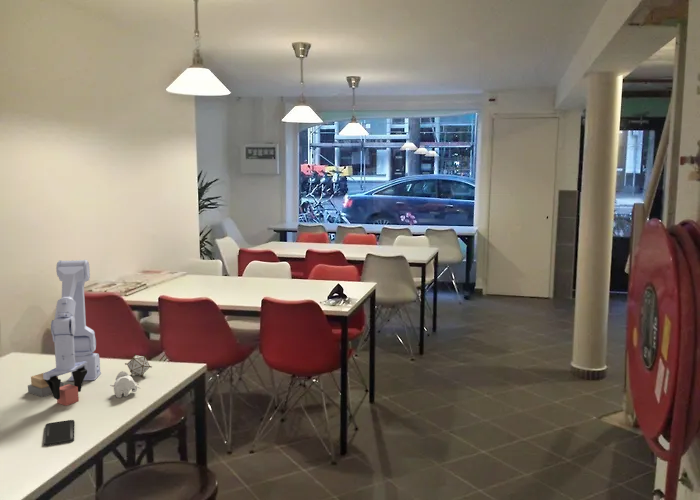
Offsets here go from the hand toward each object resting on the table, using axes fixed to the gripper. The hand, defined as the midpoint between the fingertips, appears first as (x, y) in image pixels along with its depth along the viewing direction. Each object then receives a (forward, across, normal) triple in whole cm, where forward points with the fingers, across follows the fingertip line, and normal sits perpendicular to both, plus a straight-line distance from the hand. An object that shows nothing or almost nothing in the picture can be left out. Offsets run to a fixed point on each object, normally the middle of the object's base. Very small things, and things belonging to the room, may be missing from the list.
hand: (67, 394), depth 203 cm
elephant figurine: (+3, +14, -10) cm, 18 cm away
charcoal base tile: (+3, +2, +15) cm, 16 cm away
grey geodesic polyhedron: (+3, +30, +1) cm, 30 cm away
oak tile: (0, +2, +16) cm, 16 cm away
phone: (+3, -16, -20) cm, 26 cm away
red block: (+2, 0, 0) cm, 3 cm away
